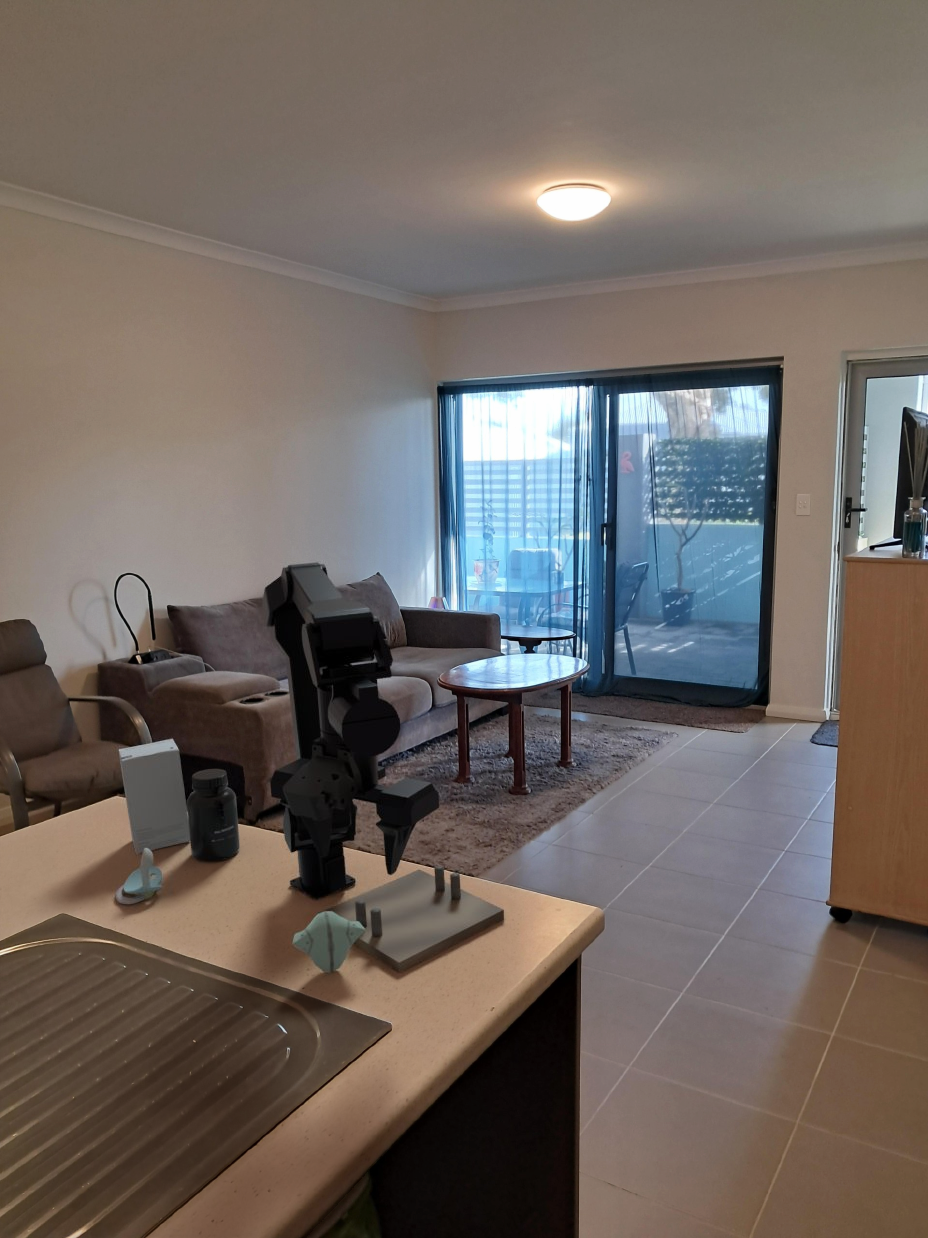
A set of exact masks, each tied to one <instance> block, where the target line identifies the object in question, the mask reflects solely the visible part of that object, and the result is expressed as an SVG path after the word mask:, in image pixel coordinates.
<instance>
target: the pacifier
mask: <svg viewBox="0 0 928 1238" xmlns="http://www.w3.org/2000/svg"><path fill="white" fill-rule="evenodd" d="M141 854H142V855H141V860H140V867H139V868H136V869H135V870H134V871H132V873H131V874H130V875H128V877H127V878H126V880H125V882H124V884H122V885H121V886H120V887H118V889H117V891H116V892H115V899H116V901H117V902H118V903H120V904H121V905H122V904H123V905H133V904H137V903H139V902H141V901H144V900H146V899H149V898H152V897H153V895H154V894H156V893H155V892H157V891H159V890H161V889H162V888H163V885H161V883H162V881H163V872H162V870H161V869H160V868H159V867H158V866H156V865H153V863H154V854H153V852H152V850H150V849H148V848H144V850H143V852H142V853H141ZM152 876H155V877H152ZM151 877H152V878H151ZM124 893H125V894H131V895H134V896H135V897H126V896H124Z"/></svg>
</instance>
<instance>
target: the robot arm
mask: <svg viewBox="0 0 928 1238" xmlns="http://www.w3.org/2000/svg"><path fill="white" fill-rule="evenodd" d="M261 601H262V602H261V608H262V611H261V612H262V618H263V619H262V620H263V622H264V626H265V628H269V635H270V636H269V637H270V639H271V641H272V643H273V644H274V645H275V646H276V647H277V649H278V650H279V651H280V653H281V654H282V656H283V657H284V659H285V666H286V676H287V683H288V684H287V685H288V692H289V701H290V702H289V703H290V710H291V711H290V712H291V718H292V719H291V721H292V728H293V729H292V730H293V737H294V746H295V747H294V748H295V756H296V760H294V761H291V762H290V763H288V764H286V765H283V766H282V767H280V768H277V769H275V770H274V771H273V774H272V775H271V777H270V779H269V785H270V795H271V798H275V799H279V802H280V804H281V805H282V806H285V808H284V810H285V811H284V814H283V815H284V816H283V821H282V828H283V834H284V835H283V836H284V841H285V843H286V845H287V848H288V849H289V852H290V853H295V852H297V861H298V873H299V876H298V877H295V878H293V879H290V880H289V885H290V886H291V887H294V888H295V889H297V890H298V891H299V892H301V893H303V894H305V895H307V896H309V897H310V898H312V899H313V900H318V899H321V898H324V897H326V896H329V895H331V894H333V893H335V892H339V891H340V890H342V889H345V888H347V887H350V886H352V885H355V884H356V878H355V877H353V876H351V875H349V874H347V871H346V869H347V867H346V857H345V854H344V843H345V842H354V841H355V838H356V837H355V836H356V835H357V829H356V825H357V823H356V821H357V813H358V806H357V804H355V803H354V801H353V800H358V801H362V802H367V803H371V804H375V810H376V815H377V816H378V817H379V818H380V820H379V821H377V822H376V823H375V826H376V827H377V828H378V829H379V830H380V831H381V832H382V833H383V848H384V861H385V867H386V871H387V875H389V876H392V875H394V874H395V873H396V872H397V870H398V868H399V865H400V863H401V859H402V857H403V855H404V852H405V850H406V847H407V845H408V843H409V839H410V838H411V834H412V833H413V831H414V829H415V827H416V825H417V824H418V822H420V821H421V820H423V819H424V818H426V817H428V816H429V815H430V814H431V813H433V812H435V811H437V810H438V809H439V808H440V795H439V794H440V793H439V790H438V787H436V786H435V785H434V783H432V782H428V781H424V780H418V779H413V778H408V777H403V778H402V779H401V780H399V781H397V782H396V783H394V784H392V785H390V786H386V785H380V784H379V781H380V780H383V778H385V777H386V776H387V775H386V767H384V766H379V765H378V756H379V755H381V754H384V753H385V752H386V751H388V750H389V749H390V748H391V747H393V745H394V744H395V743H396V741H397V739H399V734H400V732H401V719H400V716H399V714H398V711H397V710H396V708H395V706H394V705H392V703H390V702H389V701H388V700H387V699H386V698H385V697H384V696H383V695H382V694H380V692H379V691H380V690H379V686H378V680H381V679H388V678H392V675H393V674H392V669H391V667H392V665H393V663H394V662H393V661H394V659H393V655H392V651H391V648H390V645H389V642H388V638H387V635H386V632H385V629H384V627H383V625H381V623H380V619H379V618H378V616H377V615H376V616H375V615H374V613H373V612H372V610H371V608H370V607H368V606H367V605H365V604H364V603H363V602H361V601H354V600H348V599H345V598H344V597H343V595H342V594H341V593H340V591H339V590H338V588H337V587H336V586H335V584H334V583H333V582H332V580H331V578H329V576H328V570H327V567H326V565H325V564H324V563H319V562H308V563H306V562H305V563H297V564H288V565H287V566H286V567H285V566H284V567H282V569H281V572H280V576H278V577H277V578H276V579H275V580H273V581H272V582H271V583H269V584H268V585H266V586H265V587H264V591H263V596H262V600H261ZM374 660H376V661H374Z"/></svg>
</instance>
